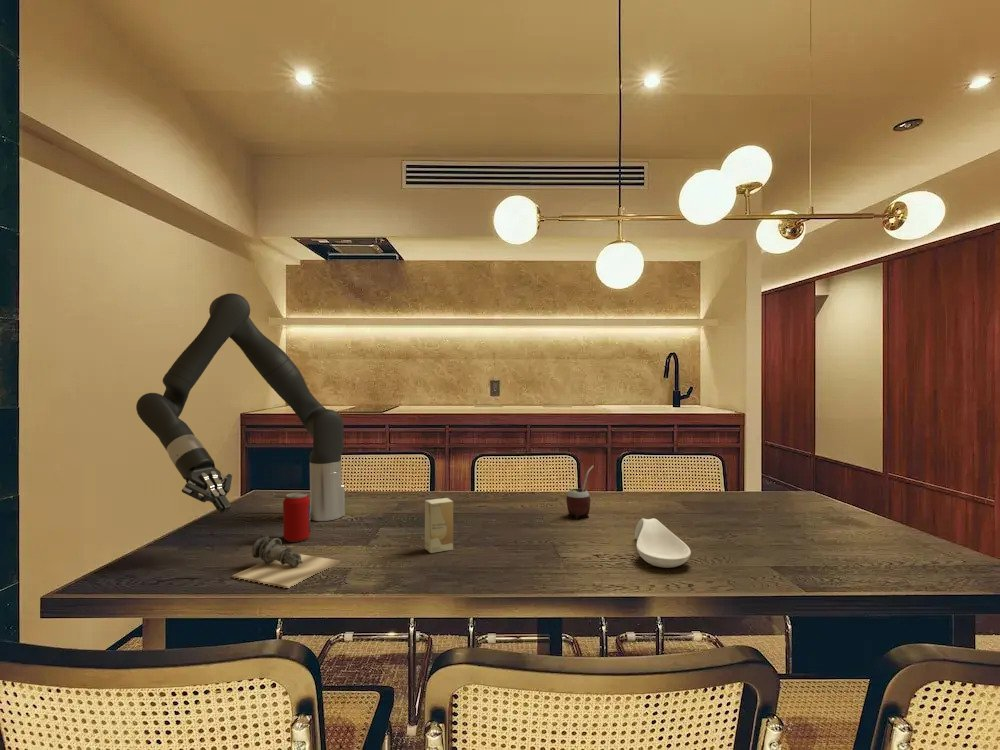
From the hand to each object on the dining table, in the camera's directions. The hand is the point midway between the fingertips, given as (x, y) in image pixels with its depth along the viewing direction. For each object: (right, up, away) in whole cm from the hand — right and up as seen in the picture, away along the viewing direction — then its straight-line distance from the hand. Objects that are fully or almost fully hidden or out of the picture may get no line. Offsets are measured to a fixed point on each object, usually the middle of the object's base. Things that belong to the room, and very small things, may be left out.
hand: (226, 510), depth 129 cm
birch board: (+18, -11, -8) cm, 23 cm away
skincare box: (+50, -11, +5) cm, 52 cm away
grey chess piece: (+10, -7, -4) cm, 13 cm away
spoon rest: (+103, -11, -1) cm, 103 cm away
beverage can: (+11, -12, +15) cm, 22 cm away
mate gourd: (+90, -10, +33) cm, 96 cm away
